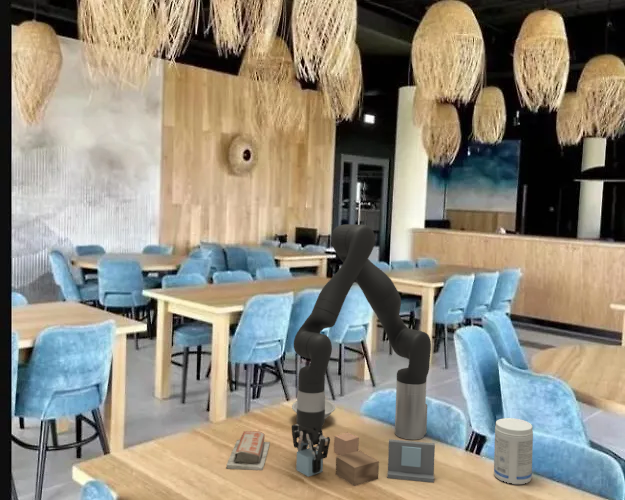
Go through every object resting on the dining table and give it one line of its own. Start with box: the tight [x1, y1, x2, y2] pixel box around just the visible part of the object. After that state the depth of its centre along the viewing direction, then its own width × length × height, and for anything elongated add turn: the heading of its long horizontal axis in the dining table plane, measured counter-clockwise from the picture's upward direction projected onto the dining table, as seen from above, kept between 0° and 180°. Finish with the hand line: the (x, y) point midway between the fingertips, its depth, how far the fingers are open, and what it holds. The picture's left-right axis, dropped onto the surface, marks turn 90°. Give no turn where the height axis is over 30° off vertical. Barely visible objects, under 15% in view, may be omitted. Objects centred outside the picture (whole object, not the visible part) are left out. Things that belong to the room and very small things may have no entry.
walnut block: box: [335, 450, 380, 487], centre depth 159 cm, size 8×8×5 cm
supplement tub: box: [493, 417, 534, 485], centre depth 160 cm, size 10×10×15 cm
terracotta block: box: [333, 431, 360, 456], centre depth 174 cm, size 5×5×5 cm
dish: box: [291, 399, 336, 419], centre depth 199 cm, size 18×14×5 cm
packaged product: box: [226, 430, 271, 471], centre depth 170 cm, size 18×5×10 cm
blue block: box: [295, 447, 324, 478], centre depth 161 cm, size 5×5×5 cm
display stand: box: [386, 438, 436, 483], centre depth 160 cm, size 6×12×9 cm, turn 80°
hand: (309, 468), depth 161 cm, fingers closed on blue block, 5 cm apart
